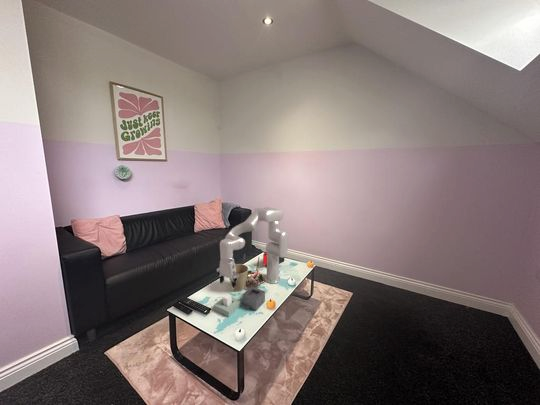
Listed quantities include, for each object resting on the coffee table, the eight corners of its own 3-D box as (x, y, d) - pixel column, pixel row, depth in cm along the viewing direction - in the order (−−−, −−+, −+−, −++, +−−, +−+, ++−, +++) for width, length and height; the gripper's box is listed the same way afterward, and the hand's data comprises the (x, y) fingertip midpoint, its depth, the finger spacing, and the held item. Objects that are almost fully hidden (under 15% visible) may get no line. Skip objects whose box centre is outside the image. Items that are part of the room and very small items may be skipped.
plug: (227, 303, 135) (227, 293, 134) (231, 305, 133) (231, 295, 132) (223, 307, 131) (223, 297, 130) (227, 309, 130) (227, 299, 128)
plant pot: (242, 280, 163) (242, 262, 160) (252, 290, 151) (252, 270, 149) (224, 287, 155) (224, 267, 152) (233, 297, 143) (233, 276, 140)
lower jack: (226, 299, 140) (226, 294, 140) (240, 305, 135) (240, 300, 134) (214, 310, 130) (213, 305, 130) (228, 317, 124) (228, 311, 124)
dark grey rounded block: (251, 296, 144) (251, 286, 143) (264, 301, 139) (265, 291, 138) (242, 305, 135) (241, 295, 134) (256, 311, 130) (256, 300, 128)
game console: (281, 258, 205) (282, 244, 202) (286, 260, 200) (287, 246, 198) (261, 267, 185) (261, 252, 182) (266, 270, 180) (267, 254, 178)
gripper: (241, 259, 126) (242, 285, 129) (220, 253, 134) (221, 277, 137) (234, 265, 119) (235, 291, 123) (212, 258, 127) (213, 283, 131)
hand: (227, 284), depth 130 cm, fingers open, 9 cm apart
